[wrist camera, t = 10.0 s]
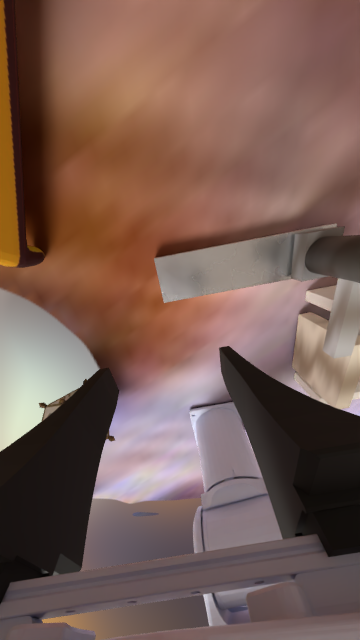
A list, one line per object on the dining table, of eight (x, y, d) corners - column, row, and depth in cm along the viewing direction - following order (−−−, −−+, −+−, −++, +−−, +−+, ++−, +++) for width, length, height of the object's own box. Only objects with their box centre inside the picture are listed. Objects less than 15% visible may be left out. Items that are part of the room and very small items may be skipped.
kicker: (302, 364, 24) (371, 427, 16) (275, 369, 24) (330, 434, 16) (325, 227, 16) (472, 213, 9) (286, 234, 17) (396, 228, 9)
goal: (356, 367, 25) (409, 403, 19) (293, 378, 25) (328, 416, 20) (388, 275, 19) (474, 289, 14) (306, 290, 19) (360, 309, 14)
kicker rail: (318, 270, 19) (327, 272, 17) (164, 299, 19) (164, 302, 18) (326, 224, 17) (337, 223, 16) (155, 257, 17) (154, 258, 16)
